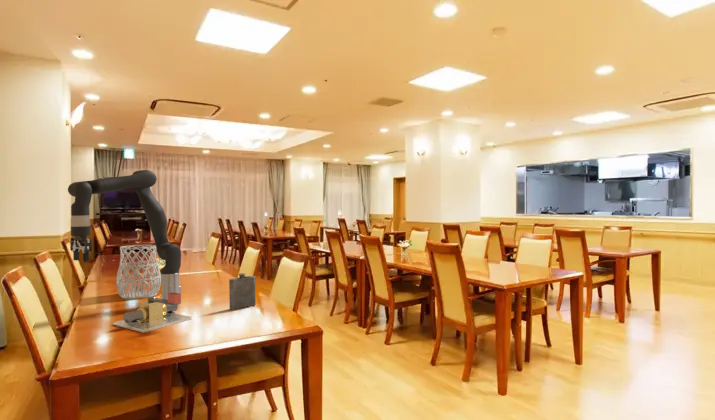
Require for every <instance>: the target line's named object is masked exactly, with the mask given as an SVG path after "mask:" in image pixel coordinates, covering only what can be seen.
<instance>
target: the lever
mask: <svg viewBox="0 0 715 420" xmlns="http://www.w3.org/2000/svg"><path fill="white" fill-rule="evenodd" d="M146 298H147V300H146V301H149V302H151V301H153V302H159V303H164V304H169V305H177V306H178V305H179V304H182V292H181V293H175V292H173V293H168V300H165V299H161V298H157V296H156V295H154V296H151V297H146Z"/></svg>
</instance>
